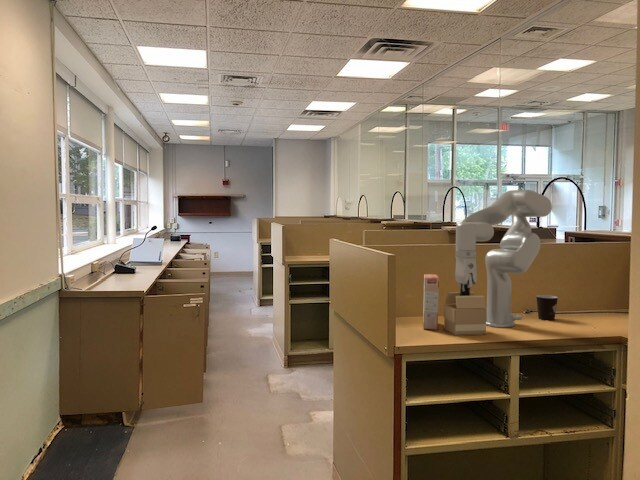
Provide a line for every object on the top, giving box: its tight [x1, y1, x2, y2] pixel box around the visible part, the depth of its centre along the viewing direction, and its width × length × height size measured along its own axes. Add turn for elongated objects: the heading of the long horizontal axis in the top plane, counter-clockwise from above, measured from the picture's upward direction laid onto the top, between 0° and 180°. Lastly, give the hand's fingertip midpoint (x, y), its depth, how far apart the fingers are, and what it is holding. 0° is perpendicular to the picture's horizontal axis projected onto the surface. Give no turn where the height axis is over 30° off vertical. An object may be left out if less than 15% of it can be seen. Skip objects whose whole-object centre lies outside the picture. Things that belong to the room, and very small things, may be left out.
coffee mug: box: [536, 294, 559, 322], centre depth 216 cm, size 12×9×10 cm
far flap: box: [445, 291, 476, 304], centre depth 195 cm, size 11×5×1 cm
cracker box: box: [422, 273, 440, 331], centre depth 201 cm, size 14×6×21 cm, turn 168°
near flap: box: [456, 294, 487, 309], centre depth 186 cm, size 11×5×1 cm
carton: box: [443, 303, 487, 337], centre depth 191 cm, size 13×11×10 cm
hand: (464, 301), depth 191 cm, fingers closed
